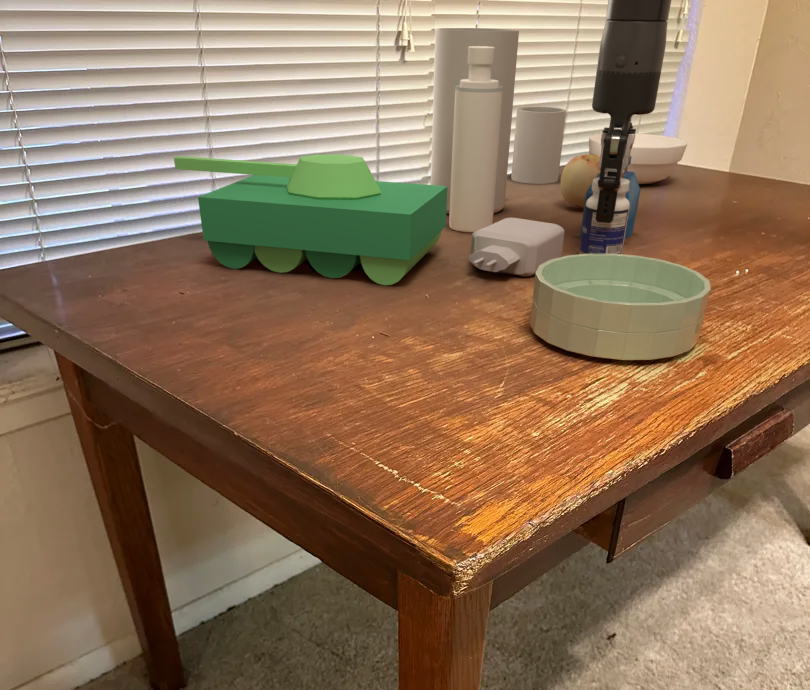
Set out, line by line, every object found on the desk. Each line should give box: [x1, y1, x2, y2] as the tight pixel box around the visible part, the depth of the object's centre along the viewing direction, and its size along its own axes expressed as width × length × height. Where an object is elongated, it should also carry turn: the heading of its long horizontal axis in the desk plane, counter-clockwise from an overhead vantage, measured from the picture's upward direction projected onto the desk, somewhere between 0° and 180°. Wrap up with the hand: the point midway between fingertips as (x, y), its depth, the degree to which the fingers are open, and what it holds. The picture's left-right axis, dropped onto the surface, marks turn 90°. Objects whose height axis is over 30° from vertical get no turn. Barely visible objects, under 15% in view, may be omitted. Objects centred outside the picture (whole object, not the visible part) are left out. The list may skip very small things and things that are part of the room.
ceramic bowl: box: [529, 253, 712, 361], centre depth 78 cm, size 17×17×6 cm
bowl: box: [588, 133, 688, 185], centre depth 146 cm, size 18×18×7 cm
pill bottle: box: [578, 177, 630, 255], centre depth 100 cm, size 6×6×10 cm
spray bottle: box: [448, 46, 503, 234], centre depth 109 cm, size 7×7×25 cm
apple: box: [560, 153, 600, 208], centre depth 126 cm, size 9×9×8 cm
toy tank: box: [173, 153, 447, 286], centre depth 99 cm, size 18×12×35 cm
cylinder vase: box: [430, 27, 520, 215], centre depth 120 cm, size 12×12×25 cm
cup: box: [510, 106, 567, 185], centre depth 145 cm, size 9×9×12 cm
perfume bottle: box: [579, 148, 641, 241], centre depth 110 cm, size 6×6×12 cm
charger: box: [468, 217, 565, 278], centre depth 97 cm, size 5×9×15 cm
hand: (606, 216), depth 100 cm, fingers closed on pill bottle, 5 cm apart
